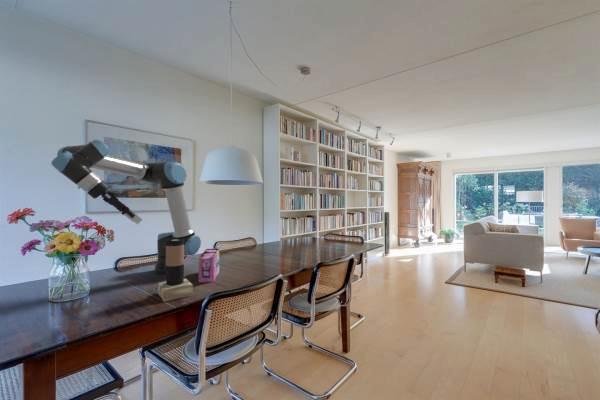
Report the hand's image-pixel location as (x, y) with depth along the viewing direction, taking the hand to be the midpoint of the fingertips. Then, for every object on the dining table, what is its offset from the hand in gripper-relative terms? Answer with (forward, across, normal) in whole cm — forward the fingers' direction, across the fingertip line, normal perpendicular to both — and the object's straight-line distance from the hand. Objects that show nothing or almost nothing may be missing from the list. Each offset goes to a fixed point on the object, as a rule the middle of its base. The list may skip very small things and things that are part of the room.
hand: (137, 220), depth 122 cm
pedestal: (+34, +6, -14) cm, 37 cm away
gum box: (+50, -14, +1) cm, 52 cm away
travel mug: (+30, +6, -11) cm, 33 cm away
